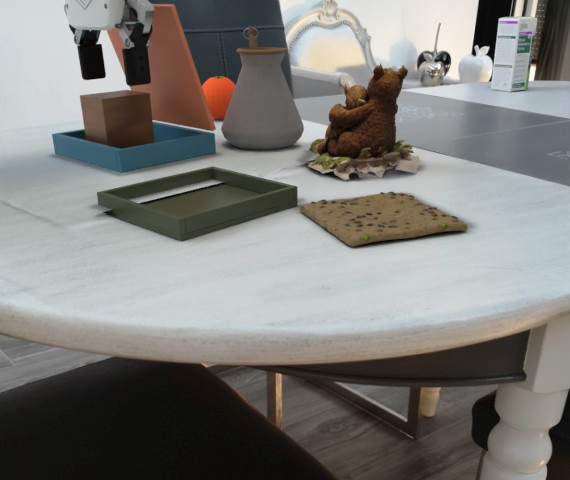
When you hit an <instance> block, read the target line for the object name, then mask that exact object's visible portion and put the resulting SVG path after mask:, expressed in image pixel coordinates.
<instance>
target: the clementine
mask: <svg viewBox="0 0 570 480" xmlns="http://www.w3.org/2000/svg"><path fill="white" fill-rule="evenodd" d="M219 75H220V74H218V75H216V76H212V77H209V78H208V79H207V80H205V81H204V82H203V84H202V85H201V86H202V88H203V91H204V94H205V97H206V100H207V103H208V106H209V109H210V112H211V115H212V118H213V119H215V120H224V118H225V115H226V112H227V109H228V106H229V103H230V101H231V98H232V95H233V92H234V89H235V86H236V83H234V82H233V80H231V79H230V78H228V77H226V76H224V75H222V76H221V75H220V76H219Z"/></svg>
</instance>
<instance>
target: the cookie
mask: <svg viewBox="0 0 570 480" xmlns="http://www.w3.org/2000/svg"><path fill="white" fill-rule="evenodd" d="M299 210H300V212H301V213H303V214H304V215H306V216H307V217H308V218H310V219H311V220H312V221H315V223H317V224H318V225H320V226H321V227H322V228H323V229H324V230H326V231H327V232H329V233H331V234H333V235H334V236H335V237H337V238H338V239H339V240H341V241H342V242H344V243H345V244H346V245H347V246H349V247H356V246H361V245H366V244H370V243H373V242H381V241H389V240H390V241H391V240H399V239H400V240H401V239H402V240H403V239H410V238H411V239H412V238H416V237H422V236H426V235H431V234H436V233H437V234H438V233H443V232H457V231H458V232H459V231H468V223H466V222H464V221H463V220H461V219H459V218H458V217H457V216H454V215H451V214H449V213H446V212H444V211H442V210H440V209H438V208H437V207H435V206H431V205H429V204H426V203H425V202H423V201H421V200H419V199H418V198H415V196H414V195H411V194H408V193H405V192H394V191H388V192H386V193H385V192H382V191H381V192H380V193H376V194H370V195H366V196H356V197H353V198H339V199H338V198H337V199H336V198H335V199H329V200H327V199H321V200H319V201H311V202H309V203H306V204H305V203H304V204H302V205H300V206H299Z"/></svg>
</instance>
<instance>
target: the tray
mask: <svg viewBox="0 0 570 480" xmlns="http://www.w3.org/2000/svg"><path fill="white" fill-rule="evenodd" d="M211 180H216V181H219V182H218V183H215V184H211V185H207V186H202V187H199V188H195V189H191V190H186V191H183V192H178V193H175V194H171V195H166V196H162V197H158V198H153V199H150V200H146V201H142V202H141V201H140V202H137V201H133V200H131V199H136V198H139V197H144V196H147V195H152V194H156V193H160V192H164V191H169V190H173V189H178V188H181V187H185V186H190V185H195V184H198V183H202V182H207V181H211ZM298 189H299V188H298V186H297V185H293V184H289V183H285V182H281V181H276V180H272V179H269V178H268V179H267V178H264V177H260V176H255V175H251V174H247V173H243V172H240V171H239V172H238V171H234V170H231V169H226V168H221V167H217V166H213V165H212V166H208V167H205V168H199V169H195V170H190V171H185V172H181V173H176V174H172V175H168V176H167V175H166V176H164V177H163V176H162V177H159V178H153V179H150V180H145V181H141V182H135V183H132V184H128V185H123V186H118V187H113V188H109V189H106V190H101V191H100V190H99V191H96V197H97V204H98V206H101V207H104V208H107V209H109V210H105V211H102V212H101V213H102V214H104V215H107V216H110V217H112V218H115V219H118V220H122V221H125V222H127V223H130V224H133V225H136V226H138V227H141V228H143V229H147V230H150V231H152V232H155V233H158V234H160V235H163V236H166V237H168V238H172V239H174V240H177V241H180V242H182V241H185V240H188V239H189V240H190V239H191V238H195V237H198V236H202V235H205V234H208V233H212V232H214V231H218V230H221V229H225V228H229V227H232V226H235V225H238V224H241V223H244V222H247V221H251V220H255V219H257V218H260V217H265V216H267V215H271V214H274V213H277V212H281V211H284V210H287V209H290V208H294V207H296V206H298V204H299V203H298Z"/></svg>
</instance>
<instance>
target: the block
mask: <svg viewBox="0 0 570 480" xmlns="http://www.w3.org/2000/svg"><path fill="white" fill-rule="evenodd" d="M79 100H80V107H81V108H80V109H81V113H82V114H81V115H82V121H83V129H85V136H86V140H87V141H91V142H95V143H99V144H103V145H108V146H112V147H116V148H120V149H123V148H129V147H134V146H140V145H145V144H151V143H155V141H154V131H153V122H154V120H152V110H151V100H150V93H145V92H138V91H131V89H123V90H113V91H106V92H105V91H104V92H97V93H88V94H81V95H79Z"/></svg>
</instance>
